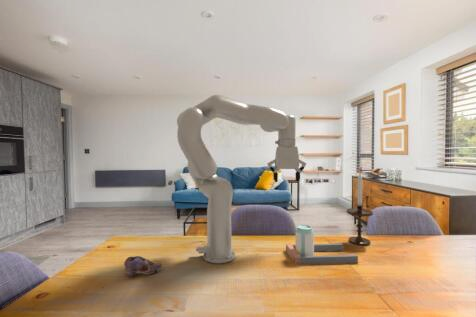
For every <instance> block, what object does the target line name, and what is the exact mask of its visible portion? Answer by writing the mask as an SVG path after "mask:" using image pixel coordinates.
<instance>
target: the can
mask: <svg viewBox="0 0 476 317" xmlns="http://www.w3.org/2000/svg"><path fill="white" fill-rule="evenodd" d="M314 244H315V231H314V230H313V227H312V226H311V225H306V224H300V225H297V228H296V229H295V245H296V251H297V253H298V254H299V255H300V256H315V251H314Z"/></svg>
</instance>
